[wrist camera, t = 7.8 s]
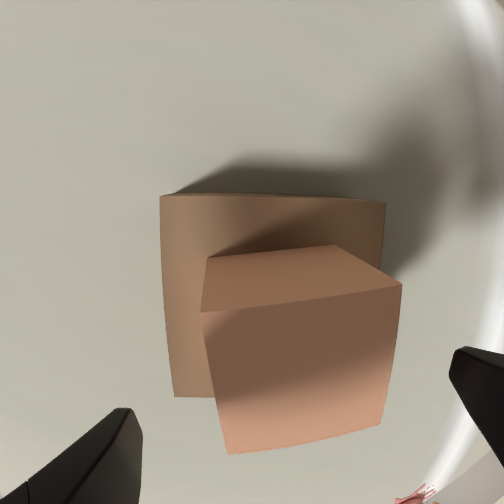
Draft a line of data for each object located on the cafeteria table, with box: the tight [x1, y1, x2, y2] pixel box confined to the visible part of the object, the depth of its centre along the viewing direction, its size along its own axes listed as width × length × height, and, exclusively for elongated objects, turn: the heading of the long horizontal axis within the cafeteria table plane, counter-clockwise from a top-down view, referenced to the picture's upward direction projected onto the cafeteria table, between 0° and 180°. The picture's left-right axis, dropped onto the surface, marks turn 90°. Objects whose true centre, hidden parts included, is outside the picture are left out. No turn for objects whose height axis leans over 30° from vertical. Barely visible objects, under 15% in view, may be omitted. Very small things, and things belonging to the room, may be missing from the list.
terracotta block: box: [200, 245, 402, 455], centre depth 10 cm, size 5×5×5 cm
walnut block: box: [160, 193, 386, 397], centre depth 14 cm, size 9×9×4 cm
